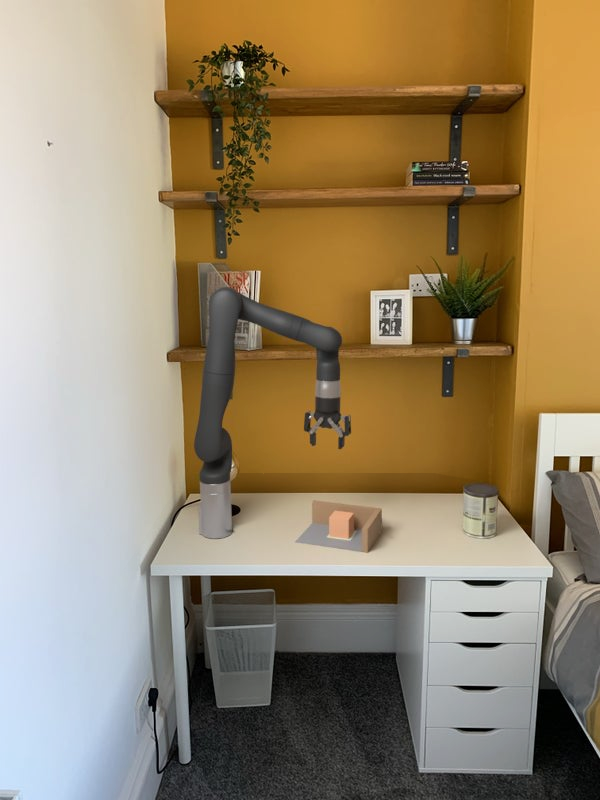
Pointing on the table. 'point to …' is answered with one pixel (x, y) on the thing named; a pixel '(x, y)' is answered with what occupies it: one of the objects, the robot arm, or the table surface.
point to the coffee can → (480, 510)
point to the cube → (341, 524)
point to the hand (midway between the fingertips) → (327, 447)
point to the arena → (364, 527)
